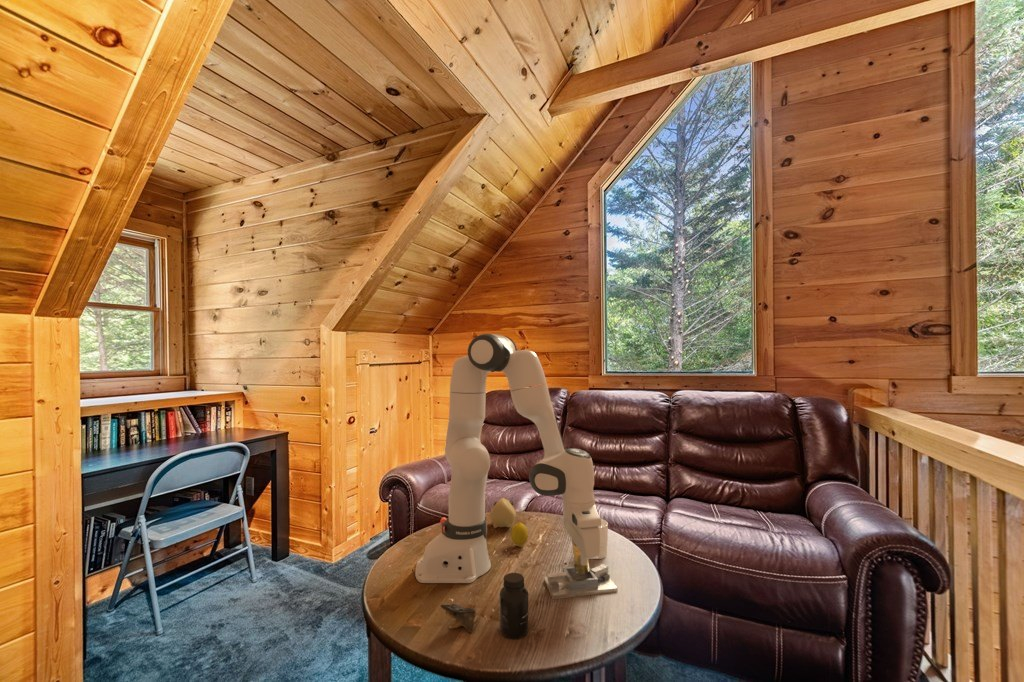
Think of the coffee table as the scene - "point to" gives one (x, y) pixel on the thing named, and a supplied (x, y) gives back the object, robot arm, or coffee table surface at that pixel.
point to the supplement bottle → (514, 607)
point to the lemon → (519, 534)
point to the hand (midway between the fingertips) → (580, 559)
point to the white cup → (603, 539)
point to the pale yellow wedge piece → (502, 513)
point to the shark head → (460, 616)
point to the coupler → (577, 564)
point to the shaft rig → (579, 582)
